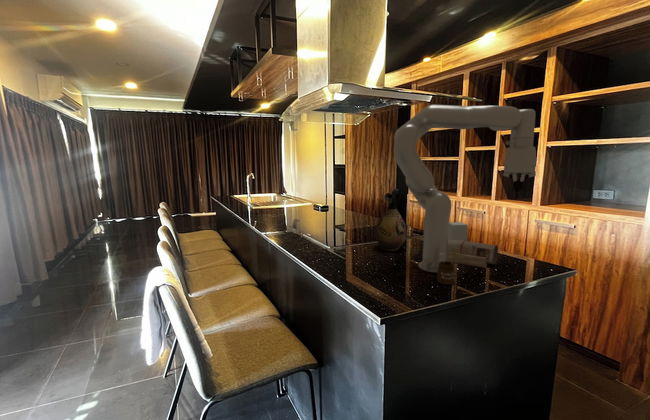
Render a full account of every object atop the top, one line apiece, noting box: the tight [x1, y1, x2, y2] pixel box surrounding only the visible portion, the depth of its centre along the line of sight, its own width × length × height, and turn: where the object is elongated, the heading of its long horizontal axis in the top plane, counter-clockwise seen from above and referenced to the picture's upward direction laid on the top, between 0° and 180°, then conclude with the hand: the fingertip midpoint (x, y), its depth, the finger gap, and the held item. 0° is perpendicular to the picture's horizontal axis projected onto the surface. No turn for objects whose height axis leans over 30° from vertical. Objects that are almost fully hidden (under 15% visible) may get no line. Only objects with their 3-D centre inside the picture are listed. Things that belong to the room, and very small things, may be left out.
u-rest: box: [447, 252, 489, 269], centre depth 140 cm, size 13×22×4 cm, turn 54°
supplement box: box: [448, 221, 469, 241], centre depth 157 cm, size 7×7×13 cm
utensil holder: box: [436, 249, 457, 286], centre depth 113 cm, size 6×6×12 cm
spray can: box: [448, 240, 499, 265], centre depth 136 cm, size 8×8×20 cm
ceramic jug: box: [374, 188, 408, 252], centre depth 157 cm, size 17×15×30 cm
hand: (517, 191), depth 122 cm, fingers closed
